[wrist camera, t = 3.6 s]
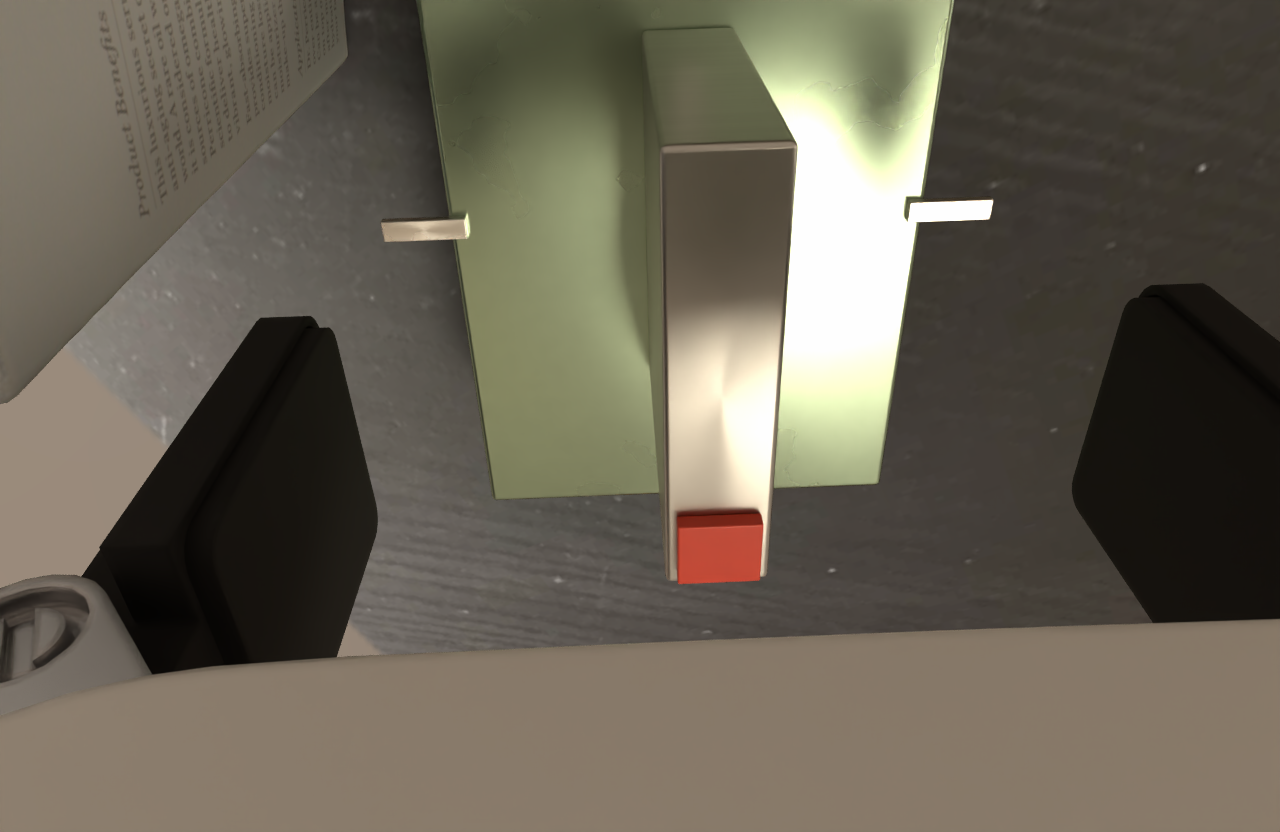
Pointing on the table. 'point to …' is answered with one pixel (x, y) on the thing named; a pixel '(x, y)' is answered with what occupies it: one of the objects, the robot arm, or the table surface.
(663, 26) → the green metallic block stand
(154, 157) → the cosmetic box
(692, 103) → the silver plate red tip
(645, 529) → the table surface
